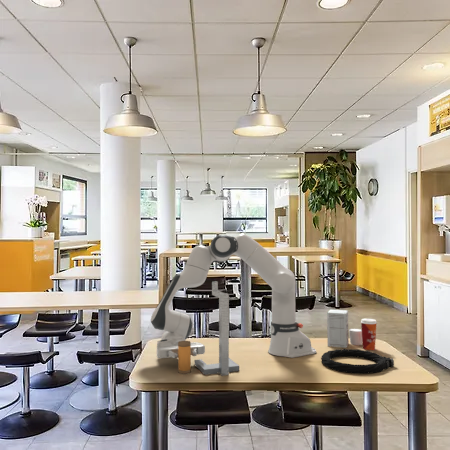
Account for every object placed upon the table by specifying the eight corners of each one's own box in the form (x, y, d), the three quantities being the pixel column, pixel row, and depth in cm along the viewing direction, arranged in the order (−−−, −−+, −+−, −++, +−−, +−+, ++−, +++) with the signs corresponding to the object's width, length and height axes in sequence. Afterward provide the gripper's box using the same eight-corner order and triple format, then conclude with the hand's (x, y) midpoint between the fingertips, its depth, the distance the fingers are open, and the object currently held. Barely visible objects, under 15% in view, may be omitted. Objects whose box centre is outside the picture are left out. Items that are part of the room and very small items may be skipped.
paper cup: (371, 351, 214) (371, 322, 214) (357, 348, 220) (357, 319, 220) (380, 348, 219) (380, 319, 219) (366, 345, 225) (366, 317, 225)
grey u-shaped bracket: (227, 361, 199) (227, 356, 199) (239, 370, 185) (239, 365, 185) (194, 364, 193) (194, 359, 193) (204, 374, 180) (204, 369, 180)
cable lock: (320, 346, 211) (388, 349, 205) (320, 354, 211) (388, 358, 205) (320, 363, 184) (399, 368, 178) (320, 373, 184) (399, 378, 178)
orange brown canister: (188, 369, 187) (188, 340, 187) (192, 373, 182) (192, 343, 182) (177, 370, 185) (176, 341, 185) (180, 374, 180) (179, 344, 180)
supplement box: (348, 343, 229) (349, 310, 229) (346, 348, 220) (346, 313, 220) (329, 341, 232) (329, 309, 232) (326, 346, 224) (326, 312, 224)
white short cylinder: (346, 342, 231) (346, 329, 231) (357, 341, 233) (357, 327, 233) (355, 346, 224) (355, 331, 224) (366, 344, 227) (366, 330, 227)
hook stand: (217, 365, 193) (217, 281, 193) (228, 374, 180) (228, 285, 180) (210, 365, 192) (210, 281, 192) (221, 375, 179) (221, 285, 179)
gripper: (199, 351, 199) (209, 360, 186) (153, 356, 192) (160, 365, 179) (199, 337, 199) (209, 345, 186) (153, 341, 192) (160, 349, 179)
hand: (185, 355), depth 183 cm, fingers open, 7 cm apart
